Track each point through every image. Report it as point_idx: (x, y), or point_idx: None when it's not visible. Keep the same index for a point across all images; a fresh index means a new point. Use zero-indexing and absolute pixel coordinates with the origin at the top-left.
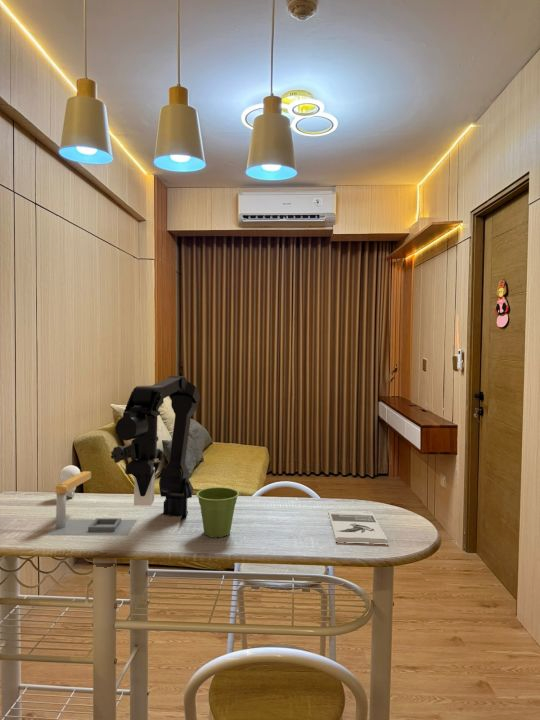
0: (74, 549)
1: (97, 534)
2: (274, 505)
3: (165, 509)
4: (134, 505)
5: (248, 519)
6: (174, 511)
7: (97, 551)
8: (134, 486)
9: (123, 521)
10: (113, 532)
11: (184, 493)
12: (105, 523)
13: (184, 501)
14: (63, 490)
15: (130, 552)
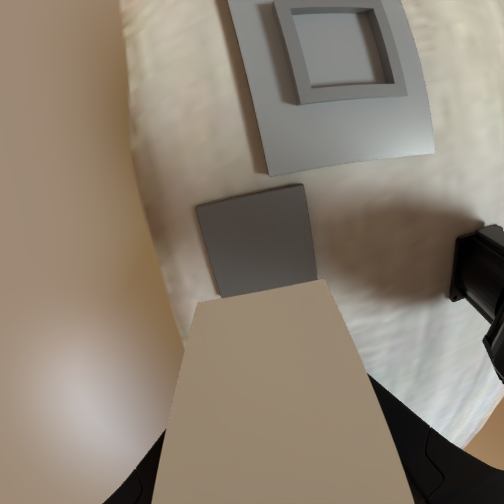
0: (132, 44)
1: (249, 52)
2: (475, 407)
3: (485, 246)
4: (200, 306)
5: (421, 408)
6: (470, 279)
7: (131, 126)
8: (168, 422)
9: (411, 103)
10: (286, 105)
11: (490, 351)
12: (375, 40)
13: (489, 318)
14: None
15: (155, 241)
